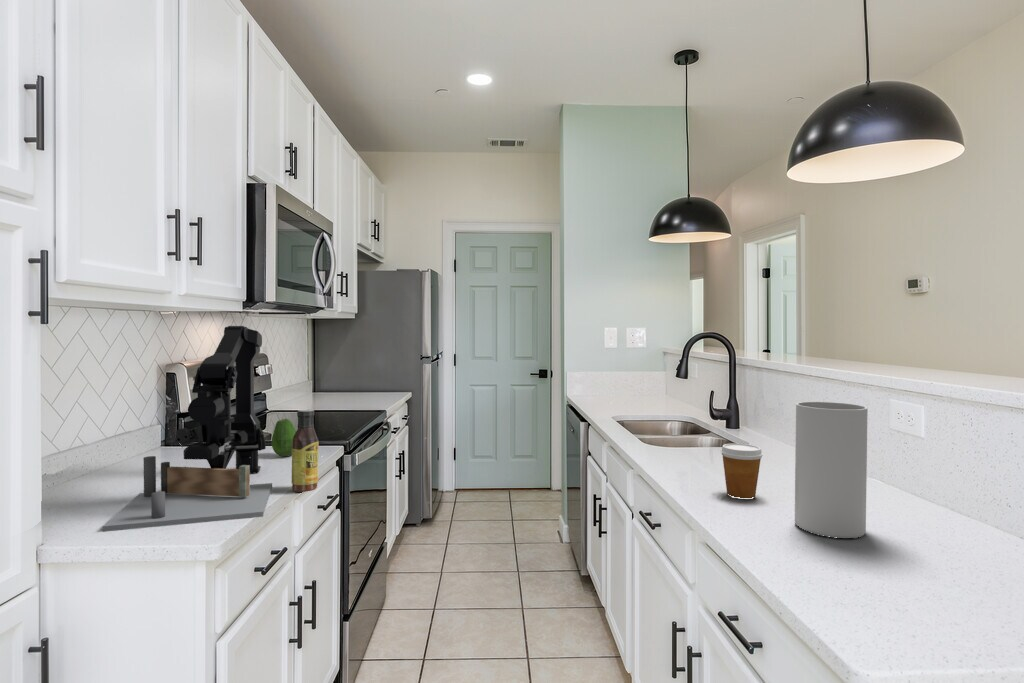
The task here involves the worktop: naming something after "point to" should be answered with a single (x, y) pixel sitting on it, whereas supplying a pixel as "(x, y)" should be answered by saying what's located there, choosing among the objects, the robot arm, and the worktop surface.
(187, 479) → the gate
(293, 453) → the sauce bottle
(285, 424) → the avocado
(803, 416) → the cylinder vase
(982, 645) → the worktop surface
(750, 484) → the disposable coffee cup
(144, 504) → the gate frame
